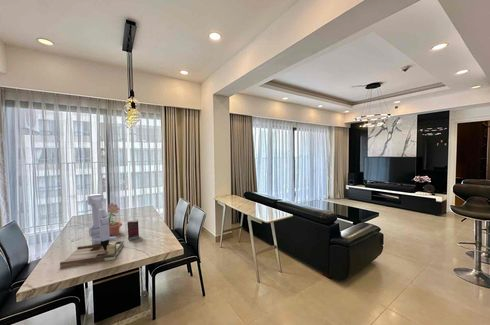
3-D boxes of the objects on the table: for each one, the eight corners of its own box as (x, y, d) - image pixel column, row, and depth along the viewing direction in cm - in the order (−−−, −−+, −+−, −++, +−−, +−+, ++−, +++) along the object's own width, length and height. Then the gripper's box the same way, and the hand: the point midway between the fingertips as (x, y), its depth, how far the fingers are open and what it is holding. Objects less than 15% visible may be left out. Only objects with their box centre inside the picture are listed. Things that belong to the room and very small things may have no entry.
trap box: (78, 250, 156) (77, 246, 156) (123, 244, 166) (123, 240, 166) (60, 267, 134) (59, 262, 133) (114, 259, 143) (113, 254, 143)
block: (109, 249, 155) (109, 243, 154) (116, 248, 156) (116, 242, 156) (107, 252, 150) (106, 245, 150) (114, 251, 151) (114, 244, 151)
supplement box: (138, 236, 183) (138, 219, 182) (139, 238, 179) (138, 221, 178) (128, 238, 179) (127, 221, 178) (128, 240, 175) (127, 222, 174)
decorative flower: (112, 237, 180) (111, 205, 179) (100, 236, 183) (99, 205, 181) (125, 231, 195) (124, 201, 193) (114, 230, 198) (112, 201, 196)
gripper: (91, 236, 145) (92, 253, 146) (113, 233, 149) (114, 250, 150) (95, 232, 152) (96, 249, 152) (116, 229, 156) (117, 246, 157)
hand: (105, 249), depth 152 cm, fingers closed
